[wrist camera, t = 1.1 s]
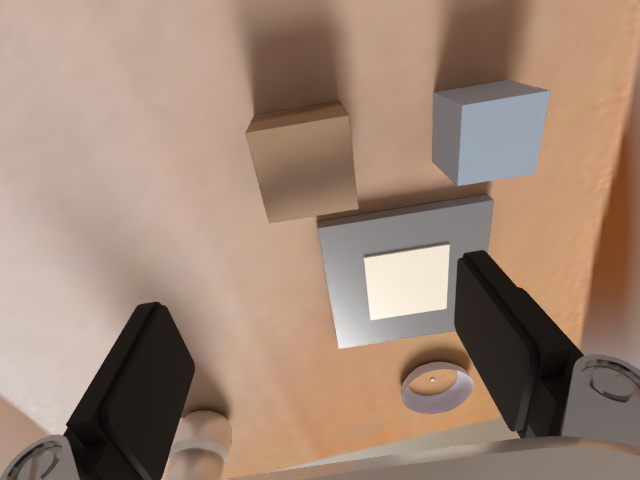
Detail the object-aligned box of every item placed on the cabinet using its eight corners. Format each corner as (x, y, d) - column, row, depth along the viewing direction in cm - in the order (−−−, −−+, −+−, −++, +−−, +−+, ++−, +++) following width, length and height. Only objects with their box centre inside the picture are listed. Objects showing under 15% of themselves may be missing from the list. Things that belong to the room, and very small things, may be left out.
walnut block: (254, 114, 24) (245, 133, 20) (339, 100, 24) (348, 115, 20) (273, 193, 27) (268, 223, 23) (348, 180, 27) (358, 208, 23)
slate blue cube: (432, 92, 24) (462, 105, 20) (505, 79, 24) (550, 90, 20) (431, 161, 27) (457, 186, 23) (496, 150, 27) (535, 173, 22)
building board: (316, 221, 29) (317, 229, 28) (486, 194, 28) (495, 201, 27) (337, 339, 36) (339, 350, 35) (473, 318, 36) (479, 329, 34)
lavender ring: (389, 367, 39) (393, 382, 38) (459, 345, 38) (466, 359, 36) (407, 406, 43) (412, 421, 42) (471, 387, 42) (478, 402, 40)
